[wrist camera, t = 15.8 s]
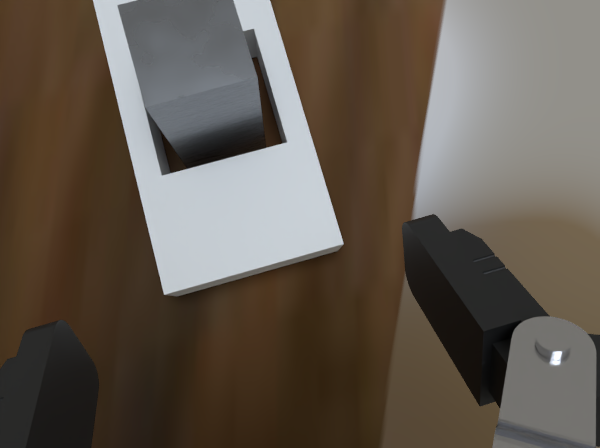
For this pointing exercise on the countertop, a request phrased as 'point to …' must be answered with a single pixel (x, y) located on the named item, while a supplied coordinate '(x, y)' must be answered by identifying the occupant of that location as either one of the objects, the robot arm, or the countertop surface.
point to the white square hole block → (226, 175)
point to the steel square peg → (196, 76)
